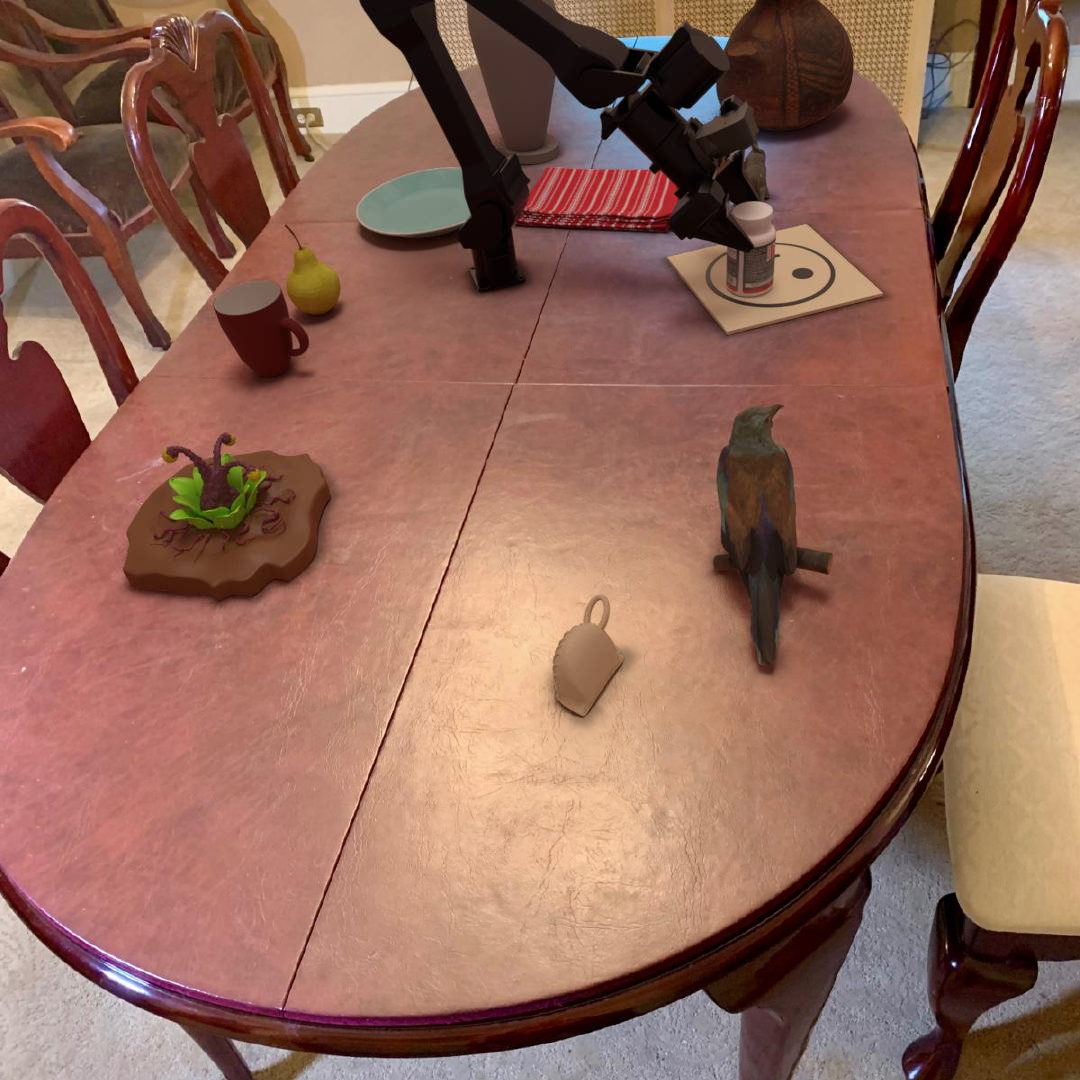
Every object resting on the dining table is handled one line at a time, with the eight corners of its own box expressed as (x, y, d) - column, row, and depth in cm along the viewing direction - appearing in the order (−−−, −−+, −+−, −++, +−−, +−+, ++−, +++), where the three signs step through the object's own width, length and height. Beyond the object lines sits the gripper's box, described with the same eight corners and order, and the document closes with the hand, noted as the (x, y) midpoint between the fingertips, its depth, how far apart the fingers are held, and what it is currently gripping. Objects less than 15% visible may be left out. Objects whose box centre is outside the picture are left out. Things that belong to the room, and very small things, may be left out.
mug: (333, 352, 118) (311, 280, 111) (307, 390, 112) (282, 317, 105) (258, 349, 120) (232, 278, 113) (229, 386, 115) (200, 314, 108)
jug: (712, 97, 164) (716, -108, 143) (841, 88, 160) (864, -123, 139) (711, 148, 148) (715, -72, 128) (853, 141, 145) (881, -87, 124)
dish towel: (673, 234, 130) (673, 216, 128) (512, 227, 137) (510, 210, 135) (696, 179, 141) (696, 162, 139) (547, 176, 148) (545, 159, 146)
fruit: (356, 307, 125) (332, 222, 117) (316, 330, 122) (288, 245, 114) (325, 292, 129) (300, 209, 121) (285, 315, 126) (256, 231, 117)
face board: (666, 260, 125) (666, 255, 124) (806, 227, 127) (806, 221, 127) (726, 335, 111) (727, 329, 110) (882, 296, 113) (883, 290, 112)
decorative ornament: (540, 698, 76) (533, 657, 73) (594, 629, 81) (590, 587, 77) (582, 719, 75) (577, 678, 71) (635, 647, 79) (632, 605, 75)
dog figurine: (732, 185, 139) (733, 134, 133) (772, 185, 137) (775, 133, 132) (722, 223, 131) (723, 170, 125) (765, 224, 129) (768, 170, 124)
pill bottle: (779, 278, 117) (784, 202, 110) (764, 301, 114) (769, 224, 107) (734, 272, 120) (737, 196, 113) (719, 294, 116) (721, 218, 109)
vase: (581, 142, 156) (561, -108, 132) (539, 174, 149) (510, -85, 124) (515, 133, 162) (485, -108, 138) (472, 163, 155) (432, -86, 130)
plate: (332, 244, 139) (327, 226, 137) (402, 179, 153) (398, 162, 151) (465, 257, 132) (462, 238, 130) (526, 188, 146) (524, 170, 144)
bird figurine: (842, 670, 74) (847, 416, 70) (715, 669, 76) (712, 421, 71) (821, 617, 87) (824, 400, 82) (713, 618, 89) (710, 405, 84)
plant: (170, 471, 104) (128, 388, 96) (342, 460, 102) (314, 374, 94) (105, 608, 90) (50, 523, 82) (304, 597, 88) (266, 510, 80)
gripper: (699, 117, 95) (802, 224, 100) (728, 53, 107) (818, 151, 112) (627, 190, 103) (725, 287, 107) (661, 122, 115) (748, 211, 120)
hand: (756, 231), depth 111 cm, fingers open, 9 cm apart
